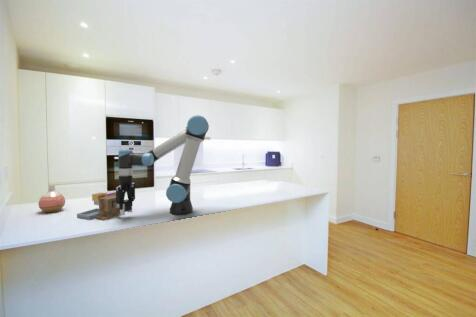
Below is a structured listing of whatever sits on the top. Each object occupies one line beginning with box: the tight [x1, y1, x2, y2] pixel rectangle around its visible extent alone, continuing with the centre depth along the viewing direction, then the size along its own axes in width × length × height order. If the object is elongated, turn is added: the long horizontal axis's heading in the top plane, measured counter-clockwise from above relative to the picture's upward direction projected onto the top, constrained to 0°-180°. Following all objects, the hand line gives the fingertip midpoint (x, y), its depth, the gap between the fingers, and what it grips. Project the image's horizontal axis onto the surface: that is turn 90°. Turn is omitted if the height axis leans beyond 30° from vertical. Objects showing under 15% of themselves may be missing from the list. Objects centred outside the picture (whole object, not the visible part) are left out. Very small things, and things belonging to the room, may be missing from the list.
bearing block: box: [95, 195, 121, 221], centre depth 141 cm, size 7×14×12 cm, turn 162°
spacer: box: [91, 192, 107, 202], centre depth 143 cm, size 5×6×4 cm
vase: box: [38, 184, 66, 214], centre depth 149 cm, size 14×14×18 cm
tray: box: [76, 207, 99, 221], centre depth 142 cm, size 11×13×2 cm
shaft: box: [93, 198, 133, 213], centre depth 140 cm, size 26×5×6 cm, turn 72°
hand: (126, 213), depth 137 cm, fingers closed on shaft, 5 cm apart
